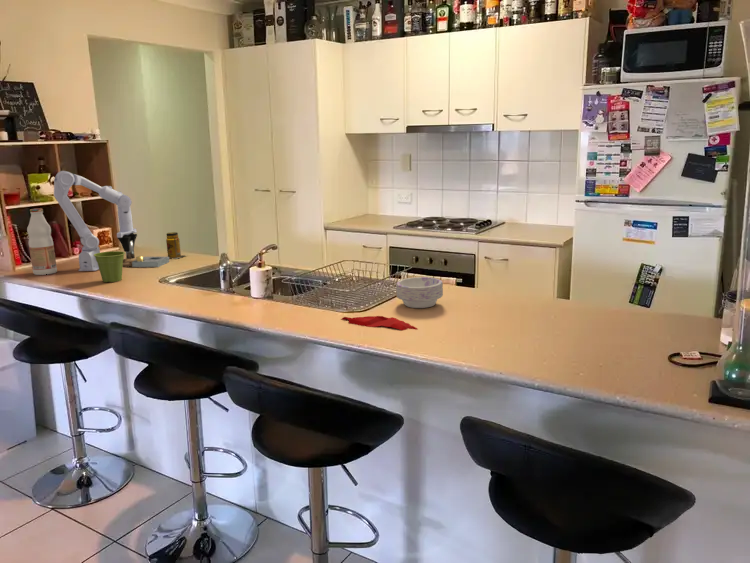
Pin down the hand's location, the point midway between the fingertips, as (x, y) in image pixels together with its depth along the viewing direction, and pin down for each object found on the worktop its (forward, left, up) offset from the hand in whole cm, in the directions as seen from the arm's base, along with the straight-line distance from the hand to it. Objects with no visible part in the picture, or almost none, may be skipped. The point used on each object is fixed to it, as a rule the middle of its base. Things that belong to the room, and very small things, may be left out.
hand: (129, 250), depth 288 cm
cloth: (-91, -125, -7) cm, 155 cm away
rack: (0, 0, -6) cm, 6 cm away
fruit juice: (-19, +30, -6) cm, 36 cm away
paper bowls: (-70, -135, -6) cm, 153 cm away
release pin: (-5, -7, -6) cm, 10 cm away
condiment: (+17, -14, -6) cm, 23 cm away
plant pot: (-34, -9, -6) cm, 36 cm away
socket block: (-1, -10, -6) cm, 12 cm away
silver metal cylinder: (0, 0, -3) cm, 4 cm away
